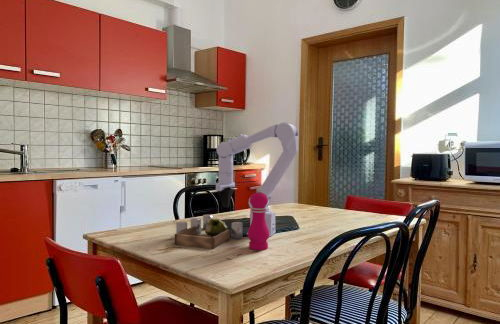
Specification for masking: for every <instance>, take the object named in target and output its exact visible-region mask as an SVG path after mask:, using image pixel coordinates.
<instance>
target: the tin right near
mask: <svg viewBox="0 0 500 324" xmlns="http://www.w3.org/2000/svg"><path fill="white" fill-rule="evenodd" d="M194 226H196V234H198V235H202V218H200V217H194V218H193V217H192V218H190V228H191V227H194Z"/></svg>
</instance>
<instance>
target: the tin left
mask: <svg viewBox="0 0 500 324" xmlns="http://www.w3.org/2000/svg"><path fill="white" fill-rule="evenodd" d="M243 225H244V224H243V222H241V221H234V222H231V239H232V240H242V239H243V232H244V231H243V229H244V228H243Z"/></svg>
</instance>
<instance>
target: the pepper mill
mask: <svg viewBox="0 0 500 324" xmlns="http://www.w3.org/2000/svg"><path fill="white" fill-rule="evenodd" d="M255 191H256V192H257V193H256V192H254V193H252V194H251V196H250V197H249V199H250V204H251V205H252V207H251V208H250V209H252V210H250V211H252V212H253V218H252V223H251V225H250V224H249V228H248V230H247V233H248V234H247V238H248V239H249V240H250V241H249V242H248V248H249V249H250V250H253V251H254V250H255V251H262V250H267V249H268V248H269V242H268V241H267V240H268V239H269V238H270V237H269V229H268V227H267V224H266V221H265V212H266V207H265V206H266V205H267V203H268V198H267V196H266V195H265V194H264V193H261V191H262V190H261V188H260V187H257V188H256V190H255Z"/></svg>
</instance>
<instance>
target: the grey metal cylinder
mask: <svg viewBox="0 0 500 324" xmlns="http://www.w3.org/2000/svg"><path fill="white" fill-rule="evenodd" d="M209 218H214V215H213V214H203V215H202V230H206V227H207V220H208V219H209Z"/></svg>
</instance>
